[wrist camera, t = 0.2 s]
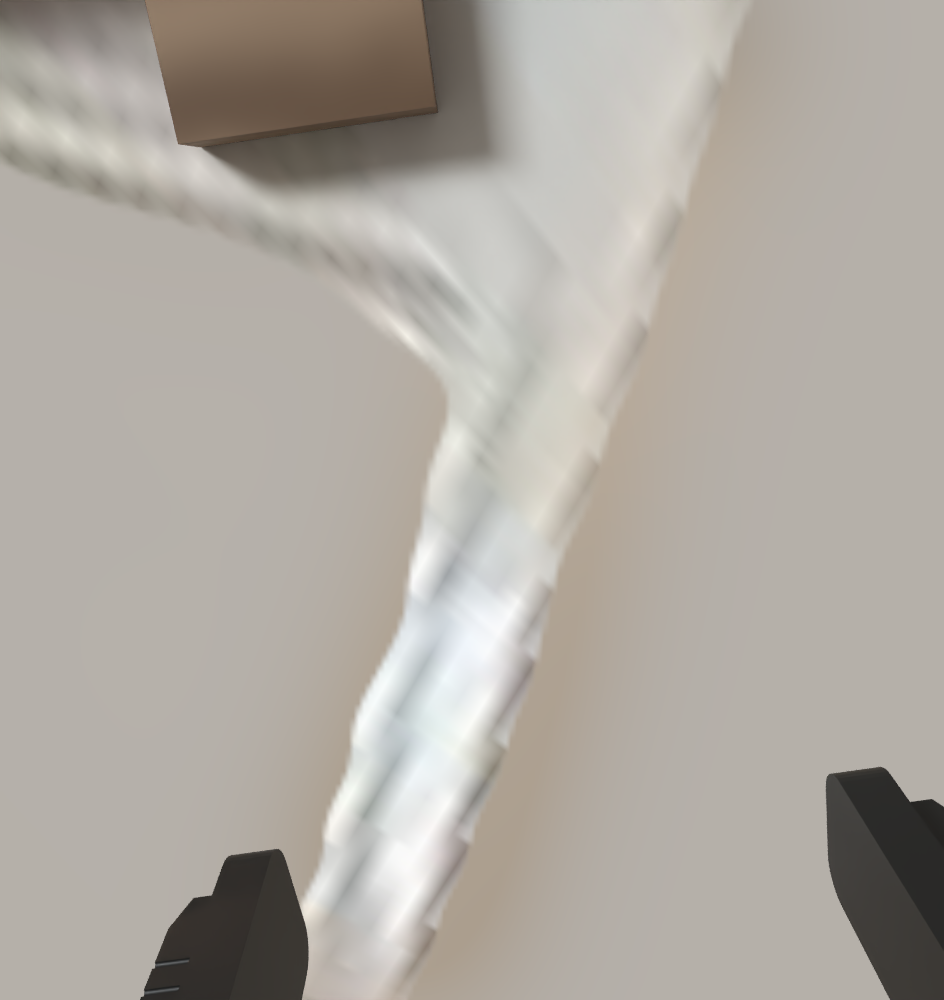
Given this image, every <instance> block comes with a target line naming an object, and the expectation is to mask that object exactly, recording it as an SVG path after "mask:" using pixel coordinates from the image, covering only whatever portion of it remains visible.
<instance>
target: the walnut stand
mask: <svg viewBox="0 0 944 1000" xmlns="http://www.w3.org/2000/svg"><path fill="white" fill-rule="evenodd" d="M145 3H146V7H147V12H148V16H149V20H150V25H151V29H152V33H153V38H154V42H155V46H156V51H157V55H158V59H159V64H160V68H161V72H162V77H163V81H164V85H165V89H166V94H167V98H168V102H169V107H170V111H171V115H172V120H173V124H174V128H175V133H176V137H177V141H178V144H181V145H188V146H195V147H206V146H213V145H220V144H227V143H234V142H241V141H247V140H254V139H261V138H268V137H275V136H282V135H288V134H295V133H302V132H309V131H316V130H323V129H329V128H336V127H343V126H350V125H357V124H364V123H370V122H377V121H384V120H391V119H398V118H405V117H411V116H418V115H425V114H432V113H438V109H437V102H436V95H435V87H434V80H433V72H432V65H431V58H430V50H429V43H428V35H427V28H426V21H425V13H424V6H423V0H145Z"/></svg>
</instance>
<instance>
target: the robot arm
mask: <svg viewBox="0 0 944 1000" xmlns="http://www.w3.org/2000/svg"><path fill="white" fill-rule="evenodd" d="M826 804H827V838H828V861H829V867H830V872H831V877H832V880H833V884H834V887H835V890H836V893H837V896H838V898H839V901H840V903H841V905H842V907H843V909H844V911H845V913H846V915H847V917H848V919H849V921H850V923H851V925H852V927H853V929H854V931H855V932H856V934H857V936H858V938H859V940H860V942H861V944H862V946H863V948H864V950H865V952H866V954H867V956H868V958H869V960H870V962H871V963H872V965H873V967H874V969H875V971H876V973H877V975H878V977H879V979H880V981H881V983H882V985H883V987H884V989H885V991H886V993H887V995H888V996H889V998H890V1000H944V807H943V806H941V805H940V804H939V803H937V802H935V801H934V800H932V799H930V800H923V801H915V802H910V801H909V800H908V799H907V797H906V796H905V795H904V793H903V792H902V790H901V789H900V787H899V786H898V784H897V783H896V782H895V780H894V779H893V777H892V776H891V775H890V774H889V772H888V771H887V770H886V769H884V768H882V767H877V768H869V769H862V770H855V771H848V772H841V773H834V774H829V775H828V776H827V780H826ZM155 964H156V965H155V969H152V971H151V974H150V976H149V979H148V981H147V984H146V986H145V989H144V991H145V992H144V997H141V999H140V1000H302V995H303V991H304V986H305V981H306V976H307V970H308V937H307V930H306V926H305V922H304V919H303V916H302V912H301V909H300V906H299V902H298V900H297V896H296V893H295V889H294V886H293V883H292V880H291V876H290V873H289V870H288V867H287V863H286V860H285V857H284V855H283V853H282V852H281V851H280V850H279V849H274V850H266V851H260V852H252V853H245V854H239V855H231V856H229V857H228V858H226V860H225V862H224V864H223V866H222V869H221V872H220V875H219V877H218V880H217V883H216V886H215V889H214V891H213V894H212V896H205V897H198V898H194V899H193V900H192V901H191V902H190V903H189V904H188V906H187V907H186V908H185V909H184V910H183V912H182V913H181V914H180V915H179V917H178V918H177V919H176V920H175V922H174V923H173V924H172V925H171V926H170V928H169V929H168V931H167V934H166V936H165V939H164V941H163V944H162V946H161V949H160V951H159V954H158V956H157V959H156V961H155Z"/></svg>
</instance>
